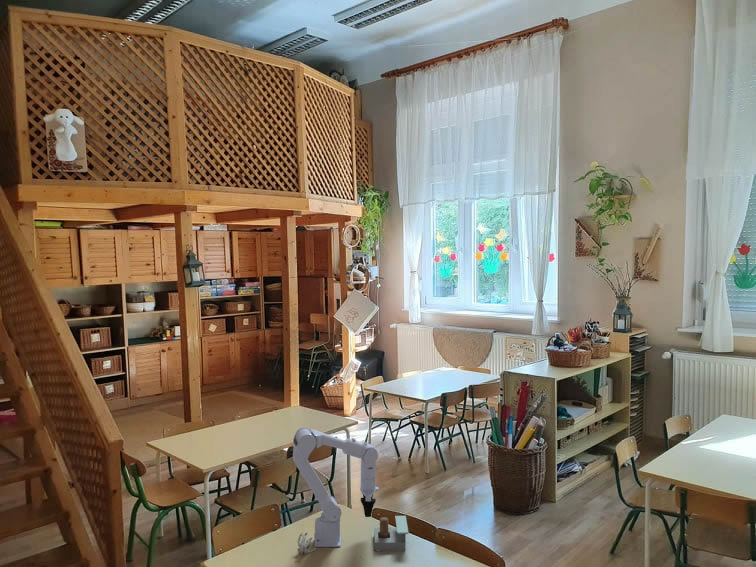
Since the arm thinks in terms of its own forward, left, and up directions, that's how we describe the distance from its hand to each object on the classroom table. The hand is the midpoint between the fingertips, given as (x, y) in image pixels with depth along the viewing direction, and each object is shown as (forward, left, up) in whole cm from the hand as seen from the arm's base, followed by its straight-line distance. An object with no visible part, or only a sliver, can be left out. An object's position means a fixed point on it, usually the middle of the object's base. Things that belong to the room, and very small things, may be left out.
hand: (367, 511), depth 208 cm
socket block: (+8, -5, -9) cm, 13 cm away
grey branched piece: (-23, -9, -10) cm, 26 cm away
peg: (+6, -5, -9) cm, 12 cm away
